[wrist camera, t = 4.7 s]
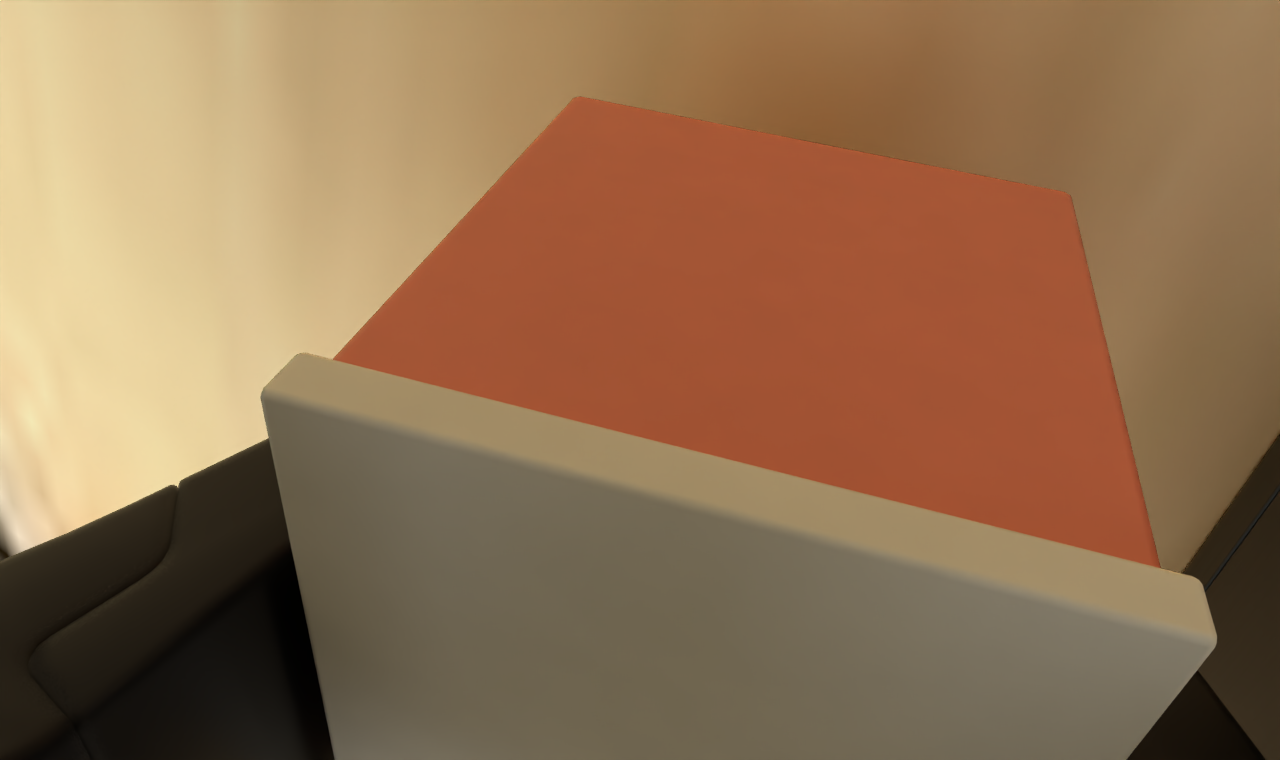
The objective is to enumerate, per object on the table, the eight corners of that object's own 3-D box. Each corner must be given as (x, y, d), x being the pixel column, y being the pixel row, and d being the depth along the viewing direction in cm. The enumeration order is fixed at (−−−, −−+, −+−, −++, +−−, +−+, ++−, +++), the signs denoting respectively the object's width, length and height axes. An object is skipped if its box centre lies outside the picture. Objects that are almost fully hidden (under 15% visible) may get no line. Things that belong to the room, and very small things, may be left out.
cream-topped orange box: (916, 586, 11) (898, 1051, 7) (545, 488, 12) (354, 866, 8) (1089, 180, 8) (1223, 642, 4) (564, 78, 8) (256, 389, 5)
